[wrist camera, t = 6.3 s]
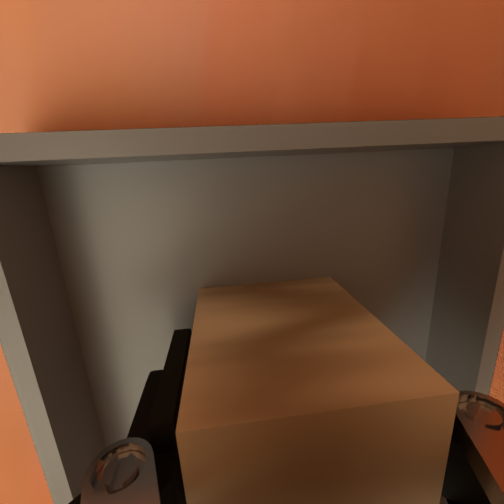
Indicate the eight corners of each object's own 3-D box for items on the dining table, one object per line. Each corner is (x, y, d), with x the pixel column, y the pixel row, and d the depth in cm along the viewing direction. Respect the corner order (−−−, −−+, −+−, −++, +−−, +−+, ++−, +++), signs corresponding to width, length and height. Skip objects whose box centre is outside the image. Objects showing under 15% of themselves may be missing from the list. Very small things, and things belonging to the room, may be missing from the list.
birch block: (330, 276, 11) (459, 391, 5) (327, 384, 12) (426, 573, 6) (198, 288, 10) (175, 432, 4) (211, 400, 12) (205, 620, 6)
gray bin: (458, 131, 10) (549, 115, 8) (415, 445, 15) (463, 512, 12) (23, 148, 9) (-69, 135, 6) (110, 494, 13) (80, 584, 10)
